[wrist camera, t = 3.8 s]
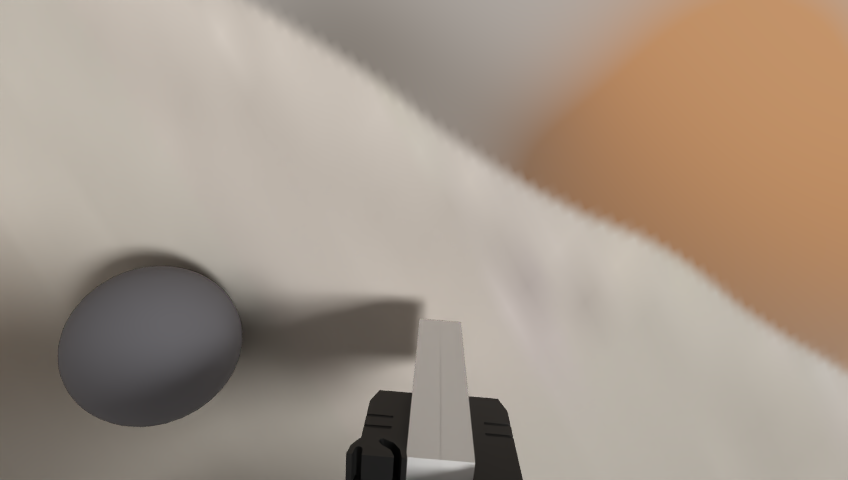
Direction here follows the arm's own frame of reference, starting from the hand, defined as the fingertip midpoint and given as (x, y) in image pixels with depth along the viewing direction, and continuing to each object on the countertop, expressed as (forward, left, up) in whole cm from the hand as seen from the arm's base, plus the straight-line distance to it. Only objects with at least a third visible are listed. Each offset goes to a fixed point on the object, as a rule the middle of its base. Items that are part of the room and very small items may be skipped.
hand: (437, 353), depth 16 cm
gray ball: (+10, 0, +1) cm, 10 cm away
